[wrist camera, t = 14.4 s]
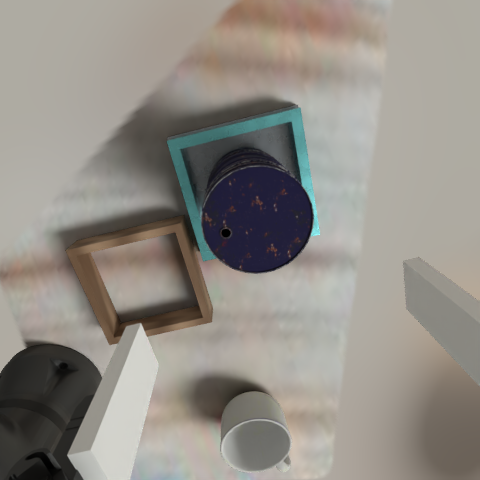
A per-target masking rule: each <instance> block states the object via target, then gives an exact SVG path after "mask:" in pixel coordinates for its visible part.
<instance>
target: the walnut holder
mask: <svg viewBox="0 0 480 480" xmlns="http://www.w3.org/2000/svg"><path fill="white" fill-rule="evenodd" d="M170 233H176V236H177V239H178V242H179V245H180V248H181V251H182V254H183V258H184V261H185V264H186V267H187V270H188V273H189V276H190V279H191V282H192V285H193V288H194V291H195V294H196V297H197V300H198V303H199V306H194V307H190V308H186V309H181V310H177V311H172V312H168V313H164V314H159V315H155V316H150V317H146V318H141V319H137V320H133V321H128V322H124V323H121V322H120V319H119V317H118V315H117V313H116V310H115V308H114V306H113V303H112V301H111V299H110V297H109V294H108V292H107V290H106V287H105V285H104V283H103V281H102V278H101V276H100V274H99V271H98V269H97V267H96V265H95V262H94V260H93V258H92V256H91V253H90V252H94V251H99V250H103V249H107V248H111V247H115V246H120V245H124V244H128V243H132V242H137V241H141V240H145V239H149V238H153V237H158V236H162V235H166V234H170ZM65 251H66V253H67V255H68V257H69V259H70V261H71V263H72V266H73V268H74V270H75V272H76V274H77V276H78V278H79V281H80V283H81V285H82V287H83V289H84V291H85V293H86V296H87V298H88V300H89V302H90V304H91V306H92V308H93V311H94V313H95V315H96V317H97V319H98V321H99V323H100V326H101V328H102V330H103V332H104V334H105V336H106V338H107V340H108V343H109V345H112V344H116V343H119V341H120V339H121V337H122V335H123V332H124V330H125V328H126V326H130V325H134V324H138V323H141V324H142V326H143V329H144V331H145V333H146V336H147V337H148V336H152V335H157V334H161V333H166V332H170V331H174V330H179V329H183V328H188V327H192V326H197V325H201V324H206V323H210V322H212V314H213V307H212V304H211V301H210V297H209V294H208V291H207V288H206V284H205V281H204V278H203V275H202V272H201V268H200V265H199V262H198V259H197V255H196V252H195V249H194V246H193V242H192V239H191V236H190V233H189V230H188V226H187V223H186V220H185V217H184V215H182V216H178V217H173V218H169V219H165V220H161V221H157V222H152V223H148V224H144V225H140V226H136V227H132V228H127V229H123V230H119V231H115V232H111V233H106V234H102V235H98V236H94V237H90V238H86V239H81V240H77V241H76V242H75V243H74V244H72V245H71V246H70V247H69V248H68V249H67V250H65Z"/></svg>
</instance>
